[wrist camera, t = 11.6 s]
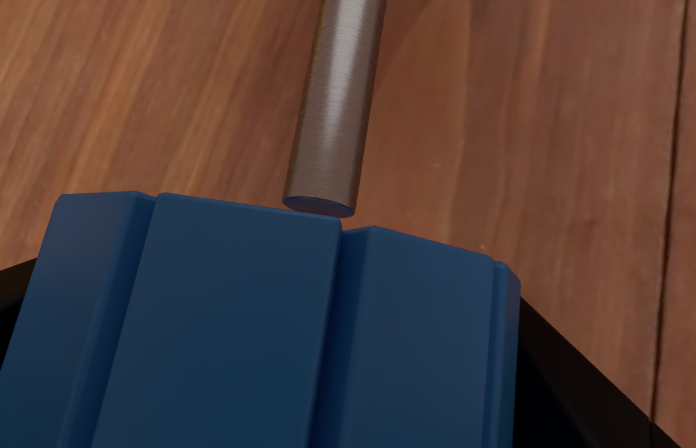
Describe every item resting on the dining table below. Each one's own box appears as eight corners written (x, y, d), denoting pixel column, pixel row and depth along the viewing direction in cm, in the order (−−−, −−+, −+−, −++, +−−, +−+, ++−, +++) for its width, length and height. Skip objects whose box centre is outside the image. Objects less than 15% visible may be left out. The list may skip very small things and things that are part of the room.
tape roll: (435, 392, 9) (691, 698, 2) (177, 350, 9) (-301, 504, 3) (445, 285, 10) (676, 265, 3) (201, 248, 10) (-138, 147, 3)
